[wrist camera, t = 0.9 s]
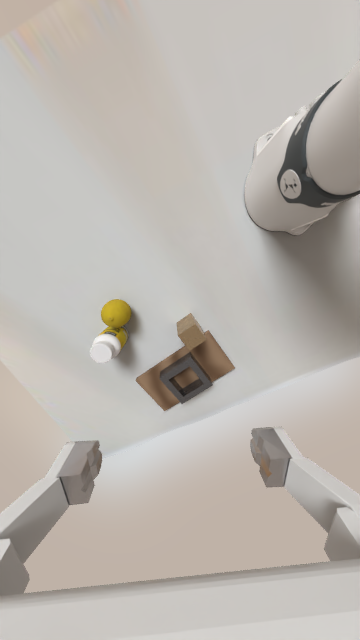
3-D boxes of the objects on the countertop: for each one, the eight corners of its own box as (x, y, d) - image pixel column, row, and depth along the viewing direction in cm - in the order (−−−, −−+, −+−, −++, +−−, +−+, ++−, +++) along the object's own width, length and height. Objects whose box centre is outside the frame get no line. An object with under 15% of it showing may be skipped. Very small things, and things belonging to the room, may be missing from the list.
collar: (190, 351, 42) (191, 357, 39) (210, 377, 44) (212, 384, 41) (160, 371, 43) (159, 378, 40) (181, 395, 46) (181, 403, 43)
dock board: (208, 330, 42) (209, 332, 41) (233, 365, 45) (234, 367, 44) (136, 377, 45) (135, 380, 44) (164, 407, 48) (164, 411, 47)
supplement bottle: (126, 321, 40) (112, 338, 31) (130, 343, 42) (119, 365, 33) (103, 324, 40) (82, 342, 31) (108, 345, 42) (90, 368, 33)
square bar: (190, 312, 40) (195, 323, 33) (200, 326, 41) (206, 339, 34) (176, 322, 41) (177, 335, 33) (186, 335, 42) (189, 350, 34)
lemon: (137, 317, 40) (129, 329, 32) (114, 322, 40) (101, 336, 33) (130, 293, 38) (119, 300, 31) (105, 299, 39) (89, 308, 31)
